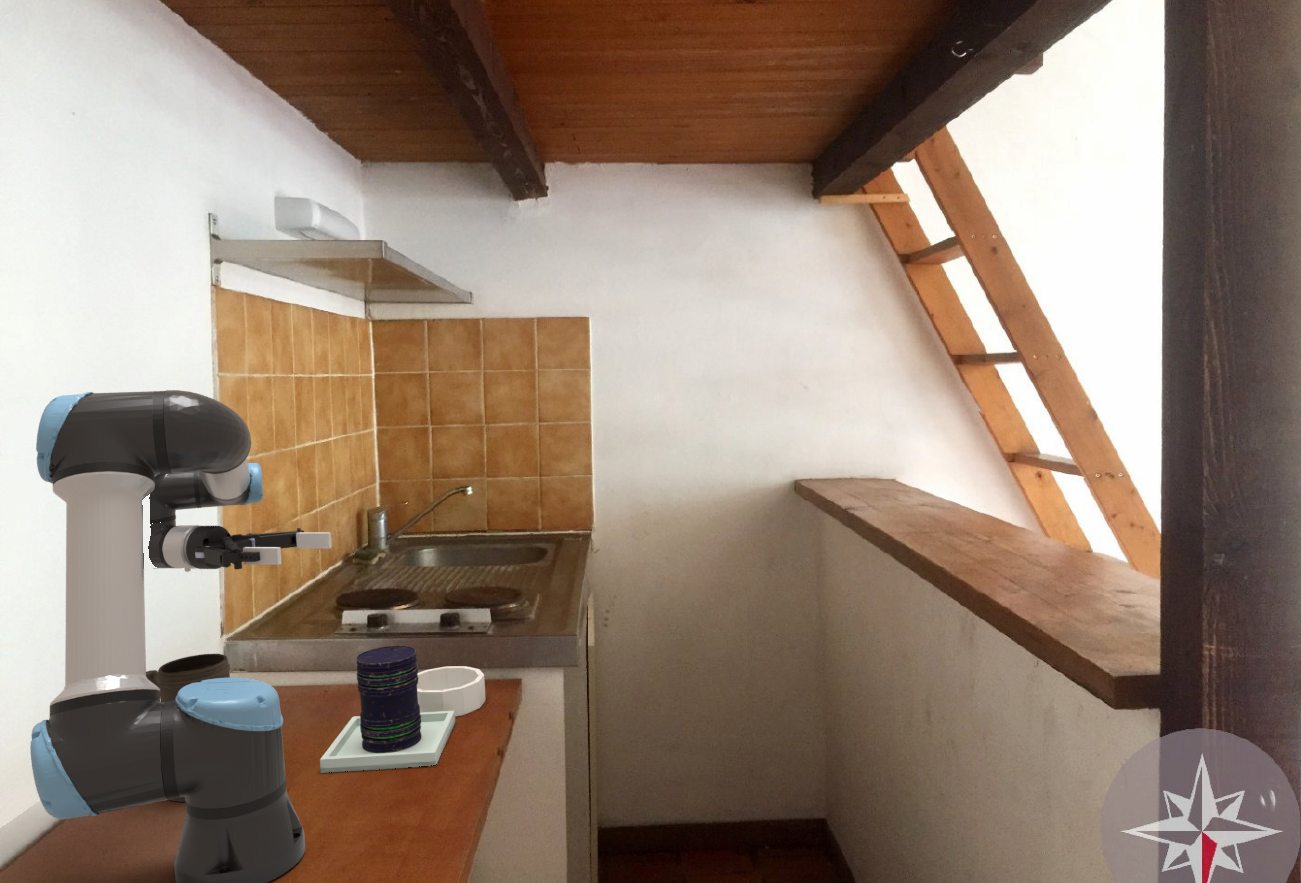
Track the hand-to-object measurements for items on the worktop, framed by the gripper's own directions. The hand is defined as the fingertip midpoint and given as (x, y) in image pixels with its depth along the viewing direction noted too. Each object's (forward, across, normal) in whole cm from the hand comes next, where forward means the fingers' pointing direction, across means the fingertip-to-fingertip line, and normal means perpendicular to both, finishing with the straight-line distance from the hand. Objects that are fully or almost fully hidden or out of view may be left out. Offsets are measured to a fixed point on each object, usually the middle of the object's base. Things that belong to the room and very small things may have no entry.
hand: (306, 547), depth 147 cm
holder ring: (+13, -20, -34) cm, 42 cm away
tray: (+13, -1, -34) cm, 36 cm away
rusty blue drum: (+13, -1, -33) cm, 36 cm away
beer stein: (-11, +17, -34) cm, 40 cm away
